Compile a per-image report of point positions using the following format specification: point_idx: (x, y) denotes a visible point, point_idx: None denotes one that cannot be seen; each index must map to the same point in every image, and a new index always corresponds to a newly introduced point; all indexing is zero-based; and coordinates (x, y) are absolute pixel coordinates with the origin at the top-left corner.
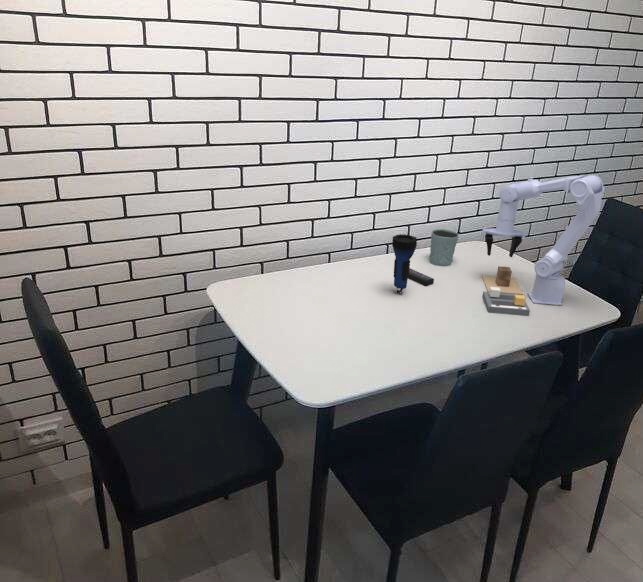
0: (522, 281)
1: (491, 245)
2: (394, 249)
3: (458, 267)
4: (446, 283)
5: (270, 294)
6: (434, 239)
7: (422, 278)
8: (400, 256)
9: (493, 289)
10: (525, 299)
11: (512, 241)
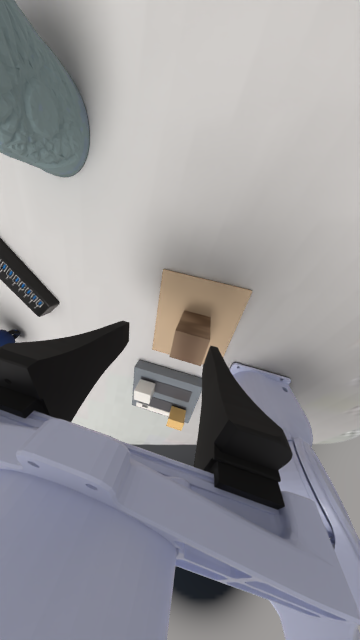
0: (266, 302)
1: (94, 382)
2: None
3: (111, 184)
4: (82, 302)
5: None
6: None
7: (28, 302)
8: None
9: (137, 398)
10: (181, 429)
11: (212, 412)
